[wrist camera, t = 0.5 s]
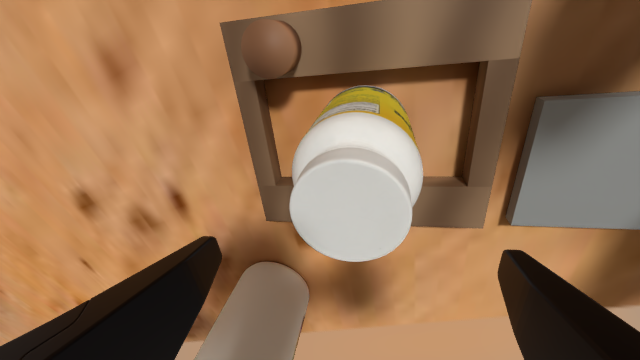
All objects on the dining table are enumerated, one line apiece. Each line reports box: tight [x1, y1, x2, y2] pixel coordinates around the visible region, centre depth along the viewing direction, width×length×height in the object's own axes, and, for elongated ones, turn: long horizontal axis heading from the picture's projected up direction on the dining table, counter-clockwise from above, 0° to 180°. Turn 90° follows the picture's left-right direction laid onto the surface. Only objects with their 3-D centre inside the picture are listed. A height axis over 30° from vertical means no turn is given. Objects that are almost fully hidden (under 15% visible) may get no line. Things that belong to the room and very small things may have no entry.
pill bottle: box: [289, 85, 423, 262], centre depth 15 cm, size 6×6×11 cm
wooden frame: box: [220, 0, 532, 228], centre depth 18 cm, size 17×15×4 cm
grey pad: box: [506, 91, 640, 230], centre depth 17 cm, size 9×9×1 cm
